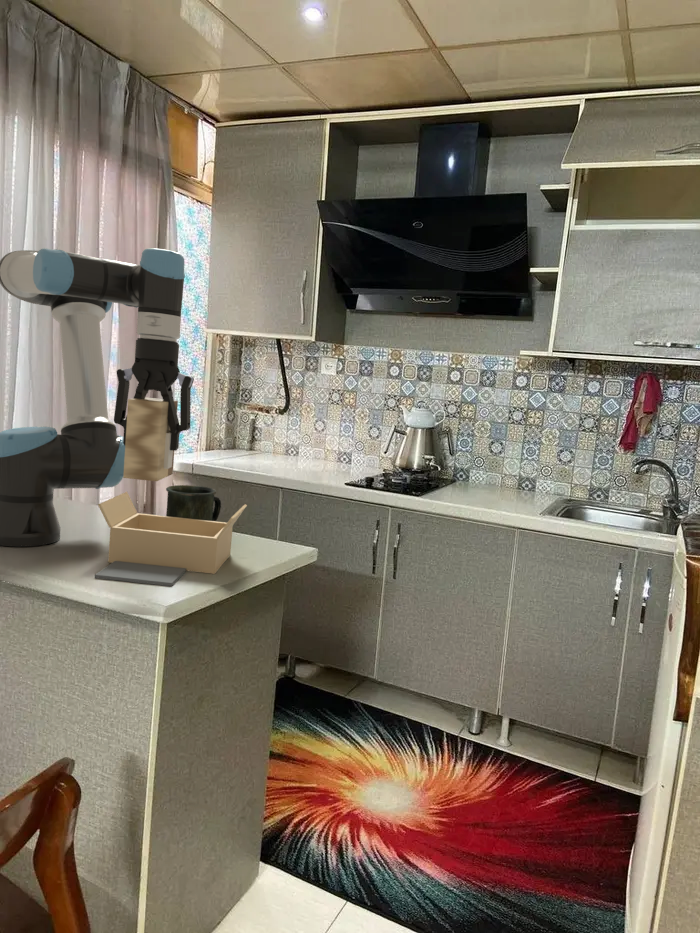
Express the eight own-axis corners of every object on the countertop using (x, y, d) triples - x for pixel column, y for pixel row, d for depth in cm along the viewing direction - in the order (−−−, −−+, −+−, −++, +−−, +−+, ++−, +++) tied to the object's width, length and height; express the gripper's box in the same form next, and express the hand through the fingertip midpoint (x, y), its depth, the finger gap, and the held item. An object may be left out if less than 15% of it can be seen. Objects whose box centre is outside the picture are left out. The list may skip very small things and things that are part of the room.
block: (123, 477, 126) (128, 398, 124) (141, 470, 136) (146, 397, 134) (156, 481, 126) (162, 402, 124) (172, 474, 135) (177, 400, 134)
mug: (152, 539, 160) (155, 486, 158) (200, 531, 172) (204, 482, 170) (184, 549, 154) (188, 495, 152) (232, 541, 165) (237, 490, 164)
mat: (94, 577, 128) (95, 574, 128) (114, 563, 138) (115, 560, 138) (171, 586, 128) (171, 582, 128) (186, 571, 138) (186, 568, 138)
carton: (94, 560, 139) (97, 503, 137) (121, 543, 153) (124, 491, 152) (228, 575, 138) (233, 517, 137) (242, 556, 153) (247, 504, 151)
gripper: (97, 332, 124) (90, 462, 127) (205, 343, 124) (195, 473, 126) (113, 334, 131) (106, 458, 134) (215, 345, 131) (205, 468, 134)
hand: (149, 465), depth 130 cm, fingers closed on block, 6 cm apart
